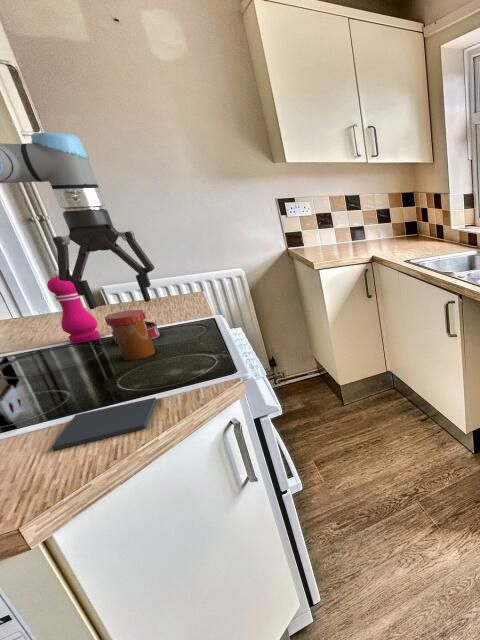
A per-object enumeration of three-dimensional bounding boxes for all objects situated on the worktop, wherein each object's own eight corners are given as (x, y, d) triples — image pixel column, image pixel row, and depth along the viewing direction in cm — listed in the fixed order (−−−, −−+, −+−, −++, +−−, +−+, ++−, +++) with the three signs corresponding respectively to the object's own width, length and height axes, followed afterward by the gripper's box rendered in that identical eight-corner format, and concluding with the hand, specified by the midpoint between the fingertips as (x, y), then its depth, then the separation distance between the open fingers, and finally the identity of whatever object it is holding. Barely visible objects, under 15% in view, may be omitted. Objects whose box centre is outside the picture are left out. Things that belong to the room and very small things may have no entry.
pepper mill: (106, 338, 122) (78, 269, 114) (72, 346, 116) (41, 274, 109) (98, 333, 125) (71, 267, 118) (65, 341, 120) (34, 271, 113)
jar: (120, 362, 104) (104, 321, 100) (126, 354, 109) (111, 315, 105) (153, 356, 107) (138, 316, 103) (157, 348, 112) (143, 310, 108)
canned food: (123, 354, 121) (108, 323, 121) (165, 342, 127) (151, 311, 126) (114, 347, 112) (97, 313, 111) (160, 334, 118) (144, 301, 117)
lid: (103, 328, 100) (100, 320, 99) (111, 320, 106) (108, 313, 105) (142, 322, 104) (140, 315, 103) (148, 315, 110) (145, 308, 109)
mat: (53, 450, 69) (51, 446, 69) (76, 418, 79) (75, 414, 79) (145, 428, 75) (144, 424, 75) (157, 400, 85) (155, 397, 84)
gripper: (7, 213, 87) (54, 316, 95) (143, 206, 97) (175, 299, 105) (22, 211, 93) (65, 308, 101) (149, 205, 103) (178, 293, 112)
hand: (121, 304), depth 103 cm, fingers open, 10 cm apart
